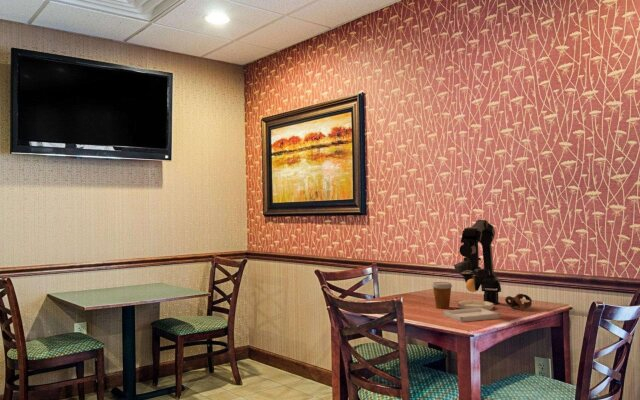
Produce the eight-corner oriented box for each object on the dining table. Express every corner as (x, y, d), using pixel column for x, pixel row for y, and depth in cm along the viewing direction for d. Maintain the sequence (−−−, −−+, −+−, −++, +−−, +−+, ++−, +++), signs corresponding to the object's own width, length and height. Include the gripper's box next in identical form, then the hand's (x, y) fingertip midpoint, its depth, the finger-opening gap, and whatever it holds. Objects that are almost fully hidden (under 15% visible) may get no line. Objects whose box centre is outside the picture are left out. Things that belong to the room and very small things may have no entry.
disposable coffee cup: (452, 309, 262) (452, 284, 262) (432, 309, 264) (432, 284, 264) (452, 305, 271) (451, 281, 271) (432, 305, 273) (432, 281, 273)
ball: (474, 290, 251) (474, 277, 251) (482, 292, 245) (482, 279, 245) (463, 291, 249) (463, 278, 249) (470, 293, 243) (470, 279, 243)
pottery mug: (527, 308, 264) (532, 294, 260) (528, 320, 256) (534, 306, 252) (502, 301, 266) (507, 288, 263) (503, 313, 258) (508, 299, 254)
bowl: (480, 304, 275) (480, 299, 275) (499, 309, 260) (499, 304, 260) (452, 306, 270) (452, 301, 270) (470, 311, 255) (470, 307, 255)
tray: (480, 312, 254) (480, 307, 254) (500, 318, 239) (500, 313, 239) (442, 315, 248) (442, 311, 248) (460, 321, 233) (460, 317, 233)
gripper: (445, 254, 254) (446, 288, 253) (468, 257, 236) (468, 293, 236) (466, 254, 257) (467, 287, 257) (490, 256, 239) (490, 292, 239)
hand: (472, 289), depth 247 cm, fingers closed on ball, 6 cm apart
